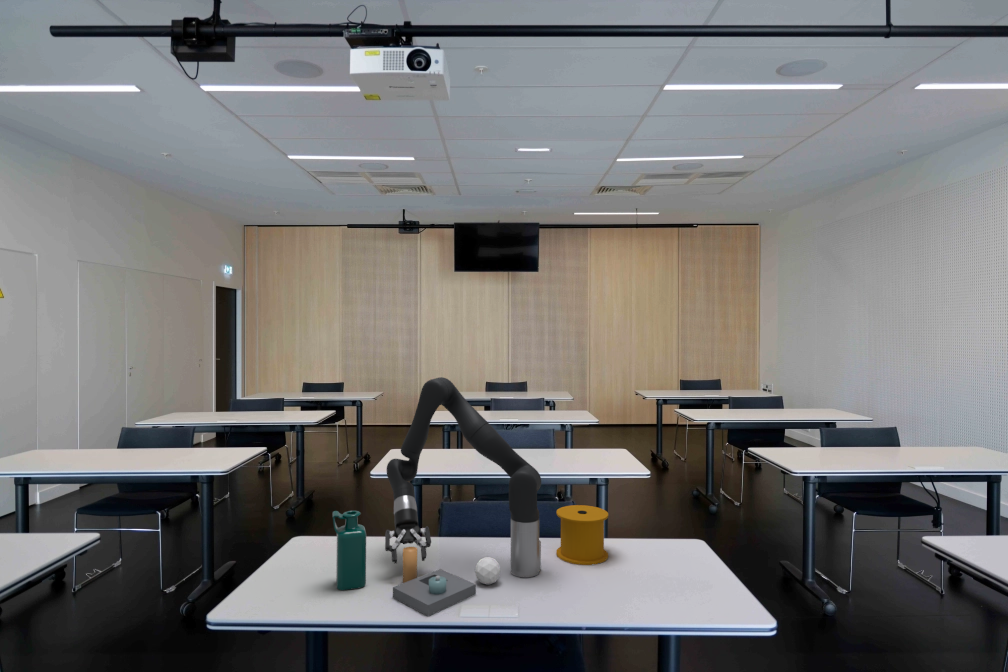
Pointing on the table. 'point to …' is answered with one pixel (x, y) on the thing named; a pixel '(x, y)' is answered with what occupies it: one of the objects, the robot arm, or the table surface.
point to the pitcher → (350, 552)
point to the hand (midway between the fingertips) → (409, 561)
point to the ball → (487, 570)
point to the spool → (582, 534)
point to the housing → (434, 591)
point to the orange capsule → (409, 563)
